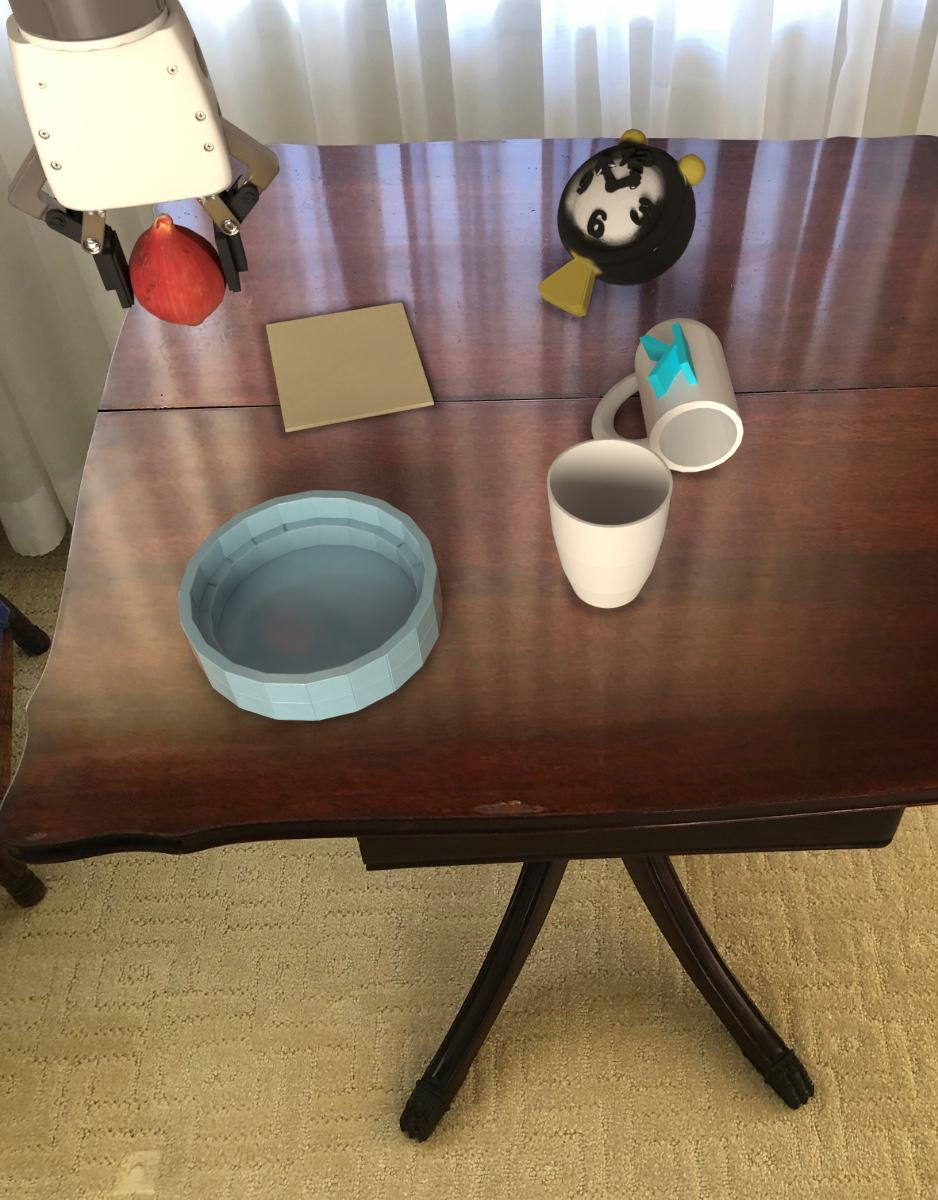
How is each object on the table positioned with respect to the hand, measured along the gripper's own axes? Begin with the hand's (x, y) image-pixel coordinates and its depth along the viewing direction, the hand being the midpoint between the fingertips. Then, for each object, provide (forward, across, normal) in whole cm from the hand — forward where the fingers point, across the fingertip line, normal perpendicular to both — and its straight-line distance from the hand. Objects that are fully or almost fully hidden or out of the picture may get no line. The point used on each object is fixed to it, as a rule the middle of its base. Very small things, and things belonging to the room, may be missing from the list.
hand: (181, 285), depth 71 cm
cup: (+18, -24, +17) cm, 34 cm away
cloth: (+17, -9, -12) cm, 23 cm away
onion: (+3, 0, 0) cm, 3 cm away
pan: (+17, -4, +15) cm, 24 cm away
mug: (+18, -33, +2) cm, 37 cm away
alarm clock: (+18, -35, -18) cm, 43 cm away
